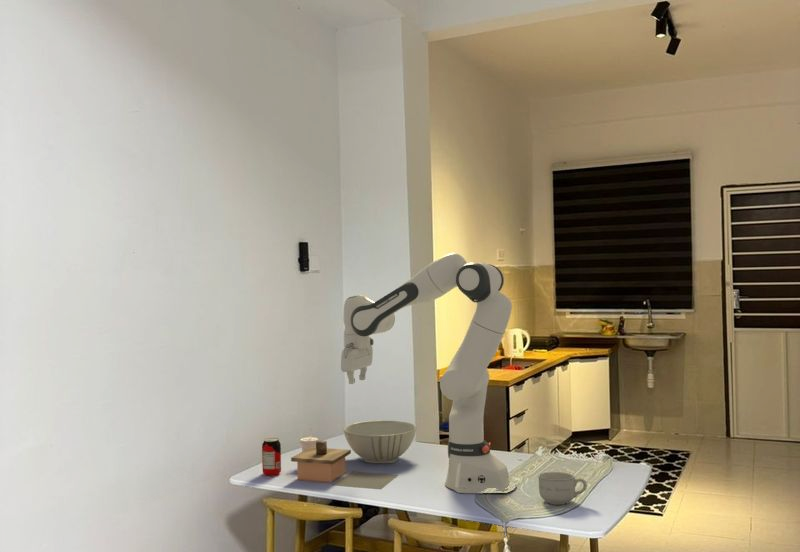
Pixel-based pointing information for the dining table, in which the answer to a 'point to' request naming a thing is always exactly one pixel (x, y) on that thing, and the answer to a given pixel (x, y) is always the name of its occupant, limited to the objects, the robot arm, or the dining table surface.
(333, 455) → the walnut lid
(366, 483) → the rubber mat
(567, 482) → the teacup
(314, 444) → the smoothie
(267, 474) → the beverage can
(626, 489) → the dining table surface
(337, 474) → the terracotta open box
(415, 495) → the dining table surface
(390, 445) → the decorative bowl
